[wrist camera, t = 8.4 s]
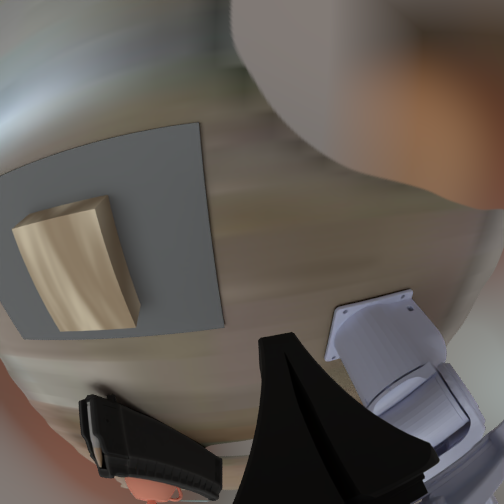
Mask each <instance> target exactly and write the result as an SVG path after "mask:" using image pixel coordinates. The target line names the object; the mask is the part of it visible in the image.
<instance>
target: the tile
mask: <svg viewBox="0 0 504 504" xmlns="http://www.w3.org/2000/svg"><path fill="white" fill-rule="evenodd" d="M12 231H13V234H14V237H15V240H16V243H17V245H18V248H19V250H20V253H21V255H22V258H23V260H24V262H25V265H26V267H27V269H28V272H29V274H30V276H31V278H32V280H33V282H34V284H35V287H36V289H37V291H38V293H39V295H40V297H41V298H42V300H43V302H44V304H45V306H46V308H47V310H48V311H49V313H50V315H51V317H52V319H53V320H54V322H55V324H56V325H57V327H58V329H59V330H60V332H64V331H91V330H110V329H125V328H136V326H137V321H138V316H139V311H140V306H141V304H140V302H139V299H138V296H137V293H136V291H135V288H134V285H133V282H132V279H131V276H130V273H129V270H128V267H127V264H126V261H125V257H124V254H123V251H122V247H121V244H120V240H119V237H118V233H117V230H116V226H115V222H114V218H113V214H112V210H111V206H110V202H109V197H108V195H104V196H99V197H95V198H90V199H86V200H81V201H77V202H73V203H69V204H65V205H61V206H57V207H53V208H49V209H46V210H42V211H38V212H35V213H31V214H29V215H27V216H26V217H25V218H24V219H23V220H22V221H20V222H19V223H18V224H17V225H16V226H15V227H14V228H12Z"/></svg>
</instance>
